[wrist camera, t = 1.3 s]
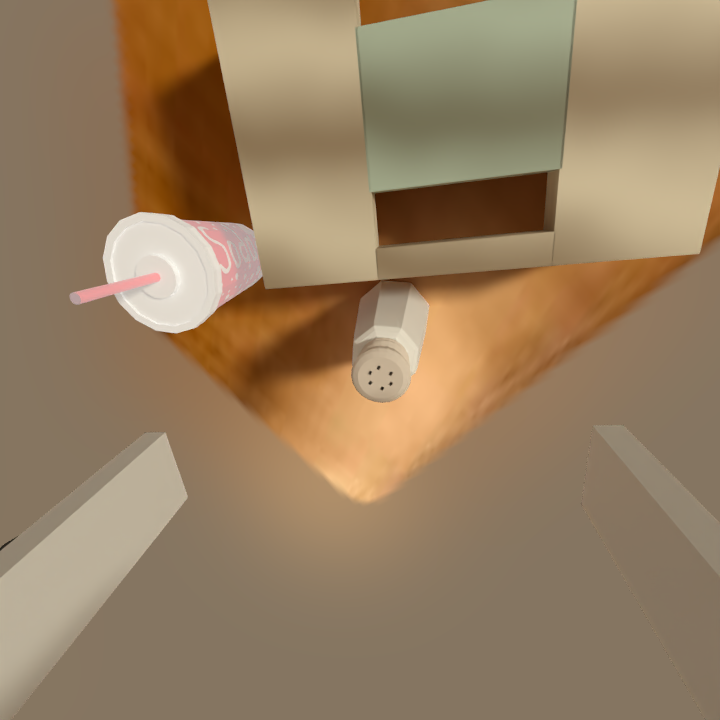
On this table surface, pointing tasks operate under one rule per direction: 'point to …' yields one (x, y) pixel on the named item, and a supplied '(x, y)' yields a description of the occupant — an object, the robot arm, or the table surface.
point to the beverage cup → (175, 269)
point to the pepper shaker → (388, 340)
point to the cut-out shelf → (583, 205)
